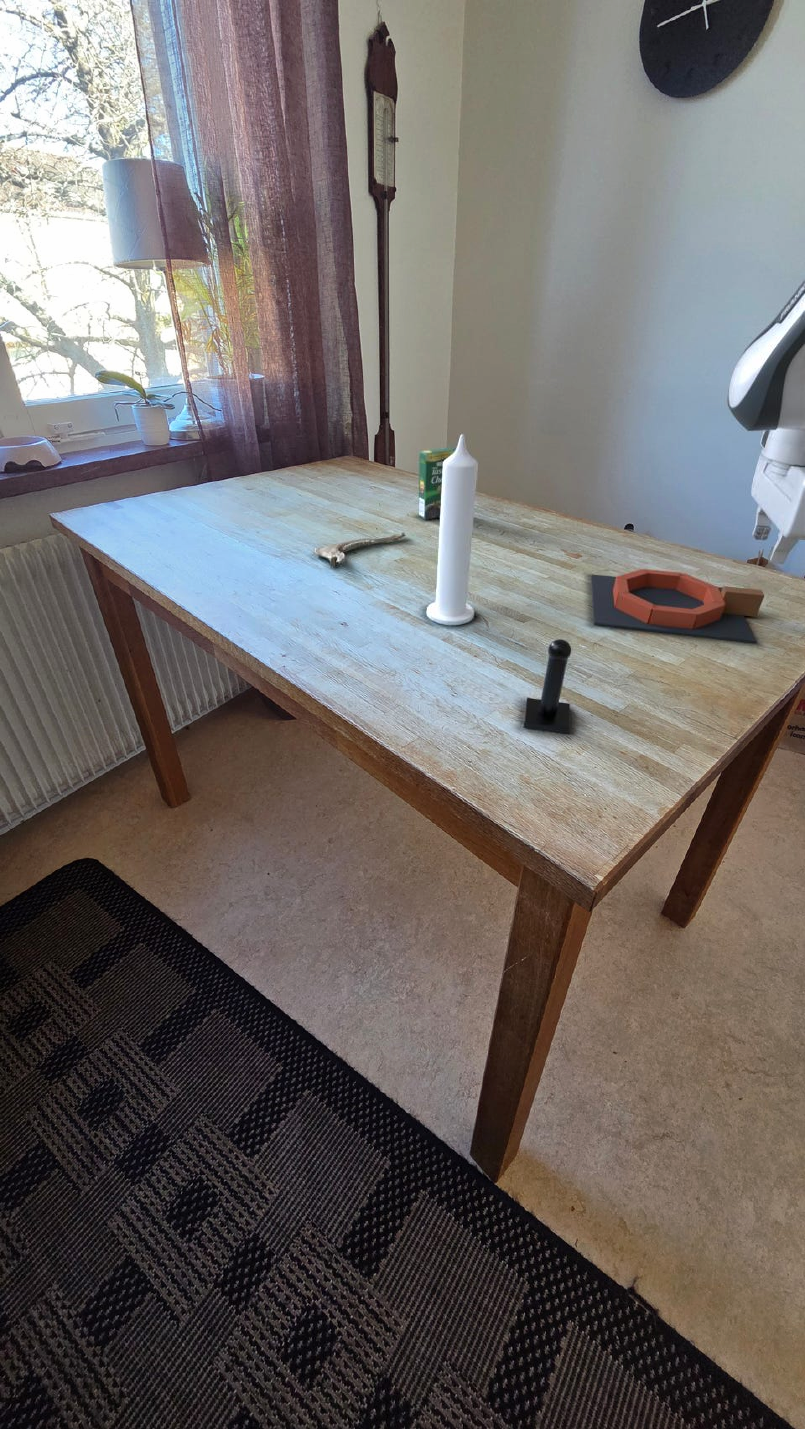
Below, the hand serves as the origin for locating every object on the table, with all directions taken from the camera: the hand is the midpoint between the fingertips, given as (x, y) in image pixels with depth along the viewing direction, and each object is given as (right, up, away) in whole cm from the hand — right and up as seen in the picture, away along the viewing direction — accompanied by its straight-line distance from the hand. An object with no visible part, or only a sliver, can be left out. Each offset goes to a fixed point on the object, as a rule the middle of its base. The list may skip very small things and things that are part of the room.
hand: (767, 549), depth 85 cm
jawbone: (-58, +6, +24) cm, 63 cm away
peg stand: (-35, -24, -16) cm, 45 cm away
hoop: (-8, -7, +7) cm, 13 cm away
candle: (-45, -9, +5) cm, 46 cm away
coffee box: (-44, +18, +41) cm, 63 cm away
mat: (-11, -7, +8) cm, 15 cm away
